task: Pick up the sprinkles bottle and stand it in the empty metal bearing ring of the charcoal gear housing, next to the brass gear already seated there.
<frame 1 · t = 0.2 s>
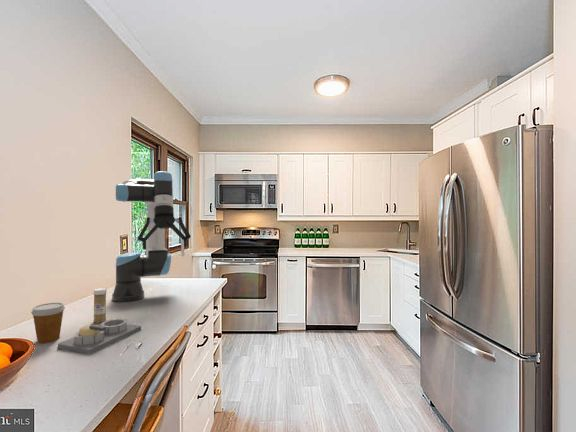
hand: (165, 256, 127), 28 cm above the countertop, tool tilted 20°, fingers open, 13 cm apart
gear housing: (102, 338, 113), on the countertop
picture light: (133, 348, 107), on the countertop
sprinkles bottle: (100, 321, 130), on the countertop
disposable coffee cup: (48, 340, 112), on the countertop
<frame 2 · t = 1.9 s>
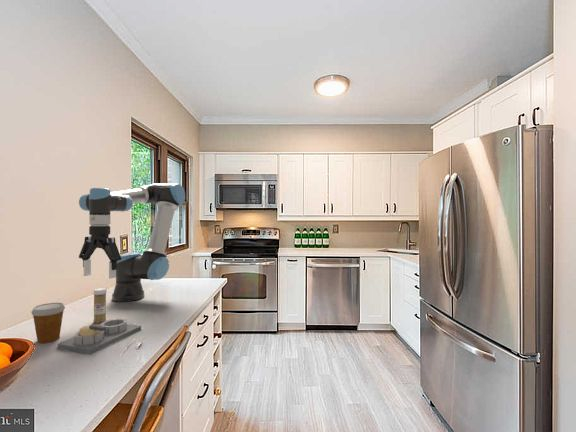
hand: (99, 276, 130), 19 cm above the countertop, tool pointing down, fingers open, 13 cm apart
nothing on the countertop moved.
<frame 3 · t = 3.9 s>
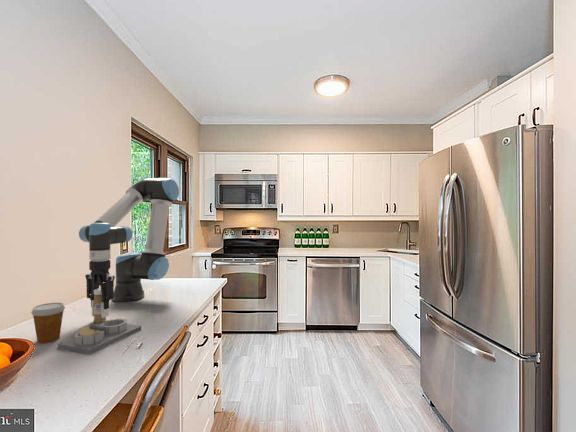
hand: (100, 315, 130), 2 cm above the countertop, tool pointing down, fingers closed on sprinkles bottle, 4 cm apart
sprinkles bottle: (100, 321, 130), on the countertop, touching gripper
everything else where it was.
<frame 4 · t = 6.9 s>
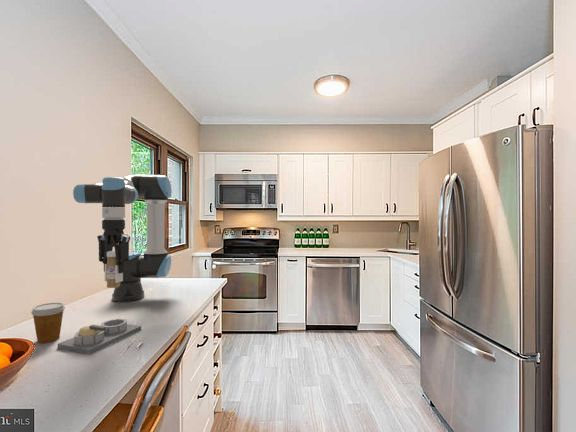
hand: (113, 281, 118), 20 cm above the countertop, tool pointing down, fingers closed on sprinkles bottle, 4 cm apart
sprinkles bottle: (113, 287, 118), point 17 cm above the countertop, touching gripper
everything else where it was.
when the fingers open (6 cm above the countertop, at t = 9.7 s): sprinkles bottle drops 2 cm, resting on gear housing.
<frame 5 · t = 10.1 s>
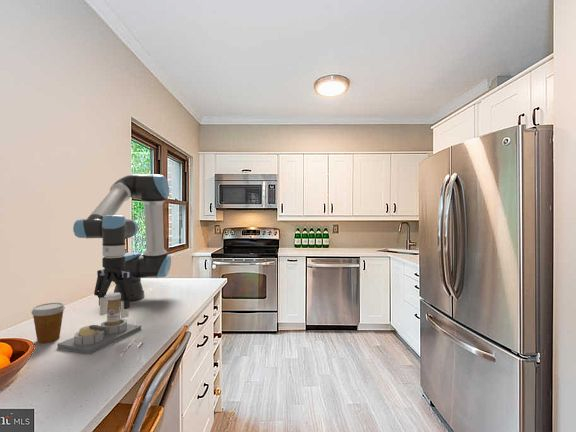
hand: (114, 315, 118), 7 cm above the countertop, tool pointing down, fingers open, 9 cm apart
sprinkles bottle: (113, 329, 118), point 1 cm above the countertop, touching gear housing
everything else where it was.
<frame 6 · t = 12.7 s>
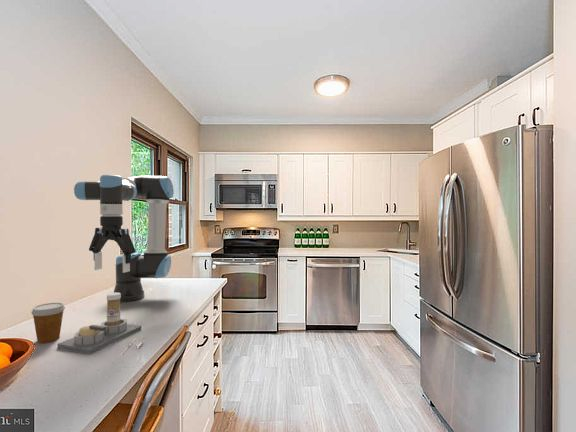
hand: (112, 270, 121), 23 cm above the countertop, tool pointing down, fingers open, 13 cm apart
nothing on the countertop moved.
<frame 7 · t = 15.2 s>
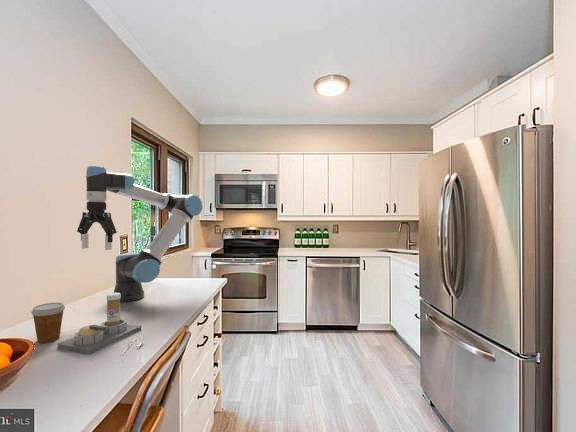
hand: (96, 249, 140), 29 cm above the countertop, tool pointing down, fingers open, 13 cm apart
nothing on the countertop moved.
at the end: sprinkles bottle 0.1 cm from the target spot on the gear housing, point 1.3 cm above the gear housing's base; sprinkles bottle tilted 0°; the gripper is holding nothing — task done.
